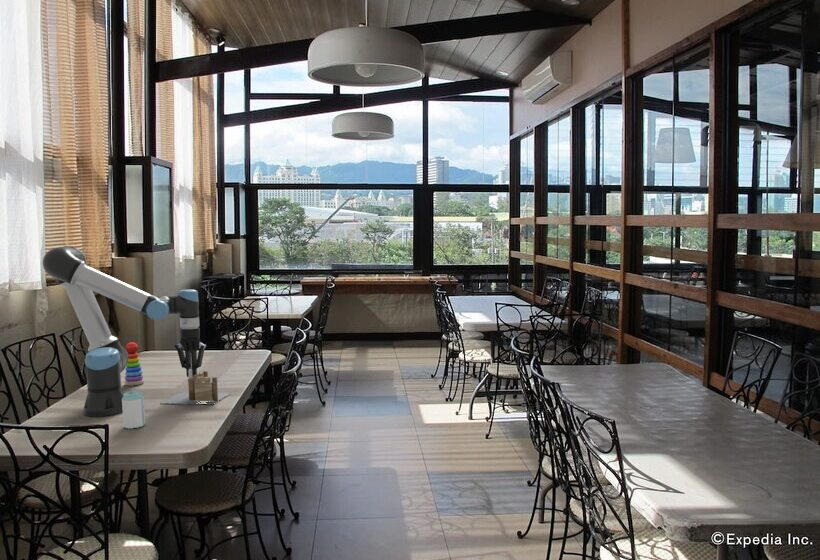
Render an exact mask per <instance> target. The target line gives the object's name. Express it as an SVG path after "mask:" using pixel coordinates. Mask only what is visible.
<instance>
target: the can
mask: <svg viewBox="0 0 820 560" xmlns="http://www.w3.org/2000/svg"><path fill="white" fill-rule="evenodd" d="M123 394H124V396H123V398H122V410H123V412H122V422H123V423H122V425H123V427H124V428H126V429H127V428H128V429H127V430H134V429H133V428H137V429H140V428H143V426H145V425H146V416H145V415H146V413H145V399H144V398H145V397H144V395H143V393H142V391H137V390H134V391H128V392H124V393H123ZM139 427H140V428H139Z"/></svg>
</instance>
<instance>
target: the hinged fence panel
mask: <svg viewBox="0 0 820 560" xmlns="http://www.w3.org/2000/svg"><path fill="white" fill-rule="evenodd" d="M197 377H202V378H203V382H205V380H204V378H205V377H209V372H208V370H204V371H202V372H197V374H196V375H194V379H195V382H197Z"/></svg>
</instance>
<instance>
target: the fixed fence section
mask: <svg viewBox="0 0 820 560" xmlns="http://www.w3.org/2000/svg"><path fill="white" fill-rule="evenodd" d="M211 379H212V380H211ZM204 380H205V382H203V378H202V377H197V382H195V379H194V378H190V379H189V378H188V379H187V385H188V393H189V401H194V400H195V401H218V393H219V391H218V377H217V376H212V377H211V376H208V377H205V378H204Z"/></svg>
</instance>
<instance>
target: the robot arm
mask: <svg viewBox="0 0 820 560" xmlns="http://www.w3.org/2000/svg"><path fill="white" fill-rule="evenodd" d="M42 266H43V269H44V271H45V272H46V274H47V275H49V277H52V278H54V279H55V280H56V282H57V284H58V286H60V287H61V288H63V289H64V290H65V292H66V294H67V296H68V299H69V301H70V303H71V305H72V308H73V310H74V312H75V315H76V316H77V319H78V320H79V323H80V325H81V328H82V330H83V332H84V334H85V336H86V340H87V341H88V343H89V346H88V348H87V351H88V352H87V353H86V354H85V360H84V364H85V370H86V371H85V374H86V375H85V376H86V385H87V386H86V387H87V395H86V398H85V401H84V402H85V403H84V406H83V415H84V416H87V417H94V418H95V417H96V418H97V417H108V416H113V415H118V414H120V413H121V414H122V413H123V410H122V398H123V396H124V393H123V390H122V379H121V373H122V372H123V371H125V370H126V365H127V362H128V352H127V351H126V348H124V347H123V346H122V345H121V342H120V341H119V338H118V337H117V336H114V335H113V334H112V333H111V329H110V328H109V324H108V323H107V321H106V319H105V317H104V314H103V313H102V310H101V307H100V305H99V303H98V301H97V298H96V296H95V294H94V292H95V293H97V294H100V295H101V296H104V297H107V298H108V299H111V300H113V301H115V302H117V303H119V304H122V305H124V306H126V307H129V308H132V309H134V310H136V311H137V312H140V313H142V314H144V315H147V317H149V318H150V319H151V320H152V321H153V320H154V321H161V320H162V319H165V318H166V317H167V316H168V315H178V314H179V328H180V329H179V336H180V340H179V343H177V344H175V345H174V348H175V350H176V351H177V355H178V358H179V359H178V360H179V361H180V366H181V368H184V369H185V371H186V377H187V378H188V379H190V378H194V375H196V374H198V372H197V371H198V369H199V368H200V367H202V364H203V358H204V353H205V349H206V348H207V343H206V344H204V343H203V342H202V340H201V339H200V335H201V332H200V331H201V329H200V309H199V307H200V305H199V304H200V302H199V291H198V290H196V289H181V290H179V291H178V294H175V295H153V294H150V293H148V292H146V291H144V290H141V289H140V288H137V287H135V286H132V285H131V284H128V283H126V282H123V281H121V280H119V279H117V278H116V277H113V276H110V275H108V274H105V273H104V272H101V271H100V270H97V269H95V268H94V267H91V266H88V265H87V260H86V256H85V254H84V253H83V252H82V251H81V250H80V249H78V248H77V247H74V246H70V245H69V246H68V245H63V246H60V247H54V248H52V249H49V250H48V251H47V252H46V253H45V254H44V256H43V258H42ZM197 352H198V353H197Z"/></svg>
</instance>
